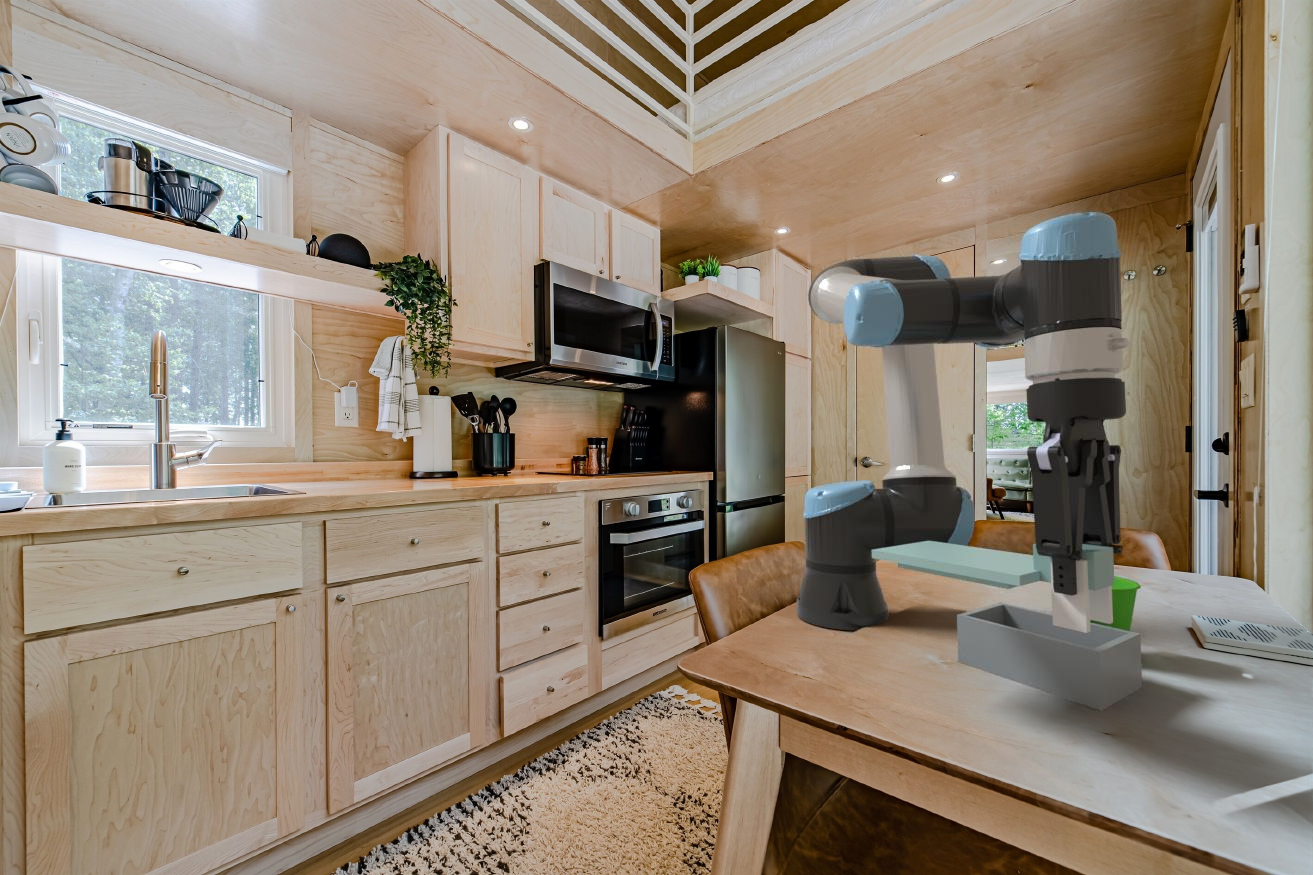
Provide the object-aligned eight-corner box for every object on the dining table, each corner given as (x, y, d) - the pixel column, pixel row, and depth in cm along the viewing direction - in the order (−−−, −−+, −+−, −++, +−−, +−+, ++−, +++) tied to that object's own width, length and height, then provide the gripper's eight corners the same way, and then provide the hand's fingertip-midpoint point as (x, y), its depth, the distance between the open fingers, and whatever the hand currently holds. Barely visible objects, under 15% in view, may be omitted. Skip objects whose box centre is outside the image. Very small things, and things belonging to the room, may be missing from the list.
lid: (871, 566, 65) (870, 529, 65) (929, 555, 71) (928, 521, 71) (1076, 608, 47) (1074, 556, 47) (1131, 589, 52) (1129, 543, 53)
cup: (1162, 678, 67) (1158, 589, 67) (1079, 673, 69) (1076, 587, 69) (1116, 651, 76) (1113, 573, 76) (1043, 647, 78) (1041, 571, 78)
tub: (958, 667, 71) (956, 614, 71) (1001, 651, 76) (1000, 602, 77) (1101, 717, 58) (1099, 652, 58) (1142, 693, 63) (1140, 633, 63)
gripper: (1077, 369, 44) (1088, 654, 44) (1158, 379, 53) (1169, 618, 52) (983, 380, 51) (992, 628, 50) (1070, 388, 59) (1078, 600, 59)
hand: (1083, 623), depth 51 cm, fingers closed on lid, 4 cm apart
